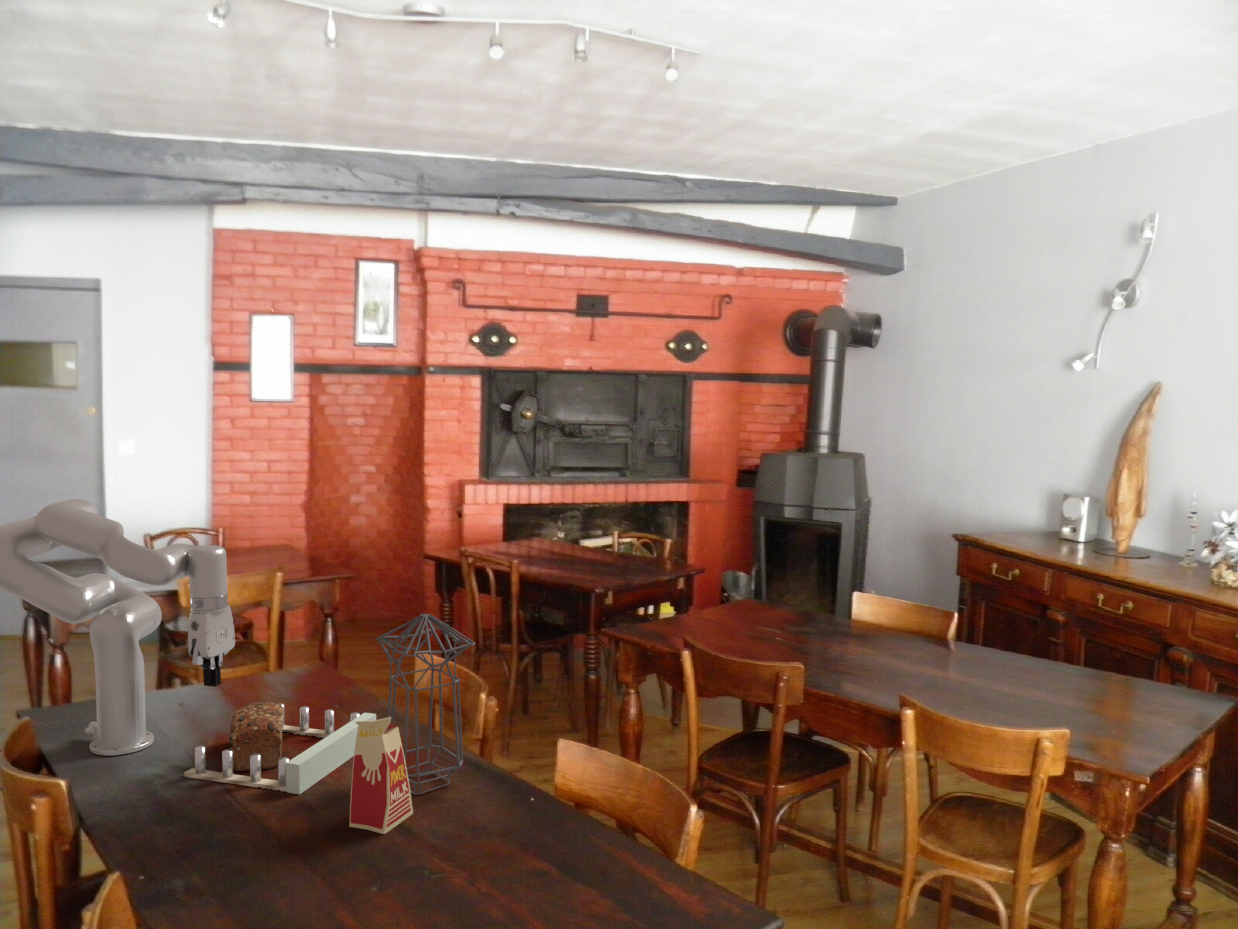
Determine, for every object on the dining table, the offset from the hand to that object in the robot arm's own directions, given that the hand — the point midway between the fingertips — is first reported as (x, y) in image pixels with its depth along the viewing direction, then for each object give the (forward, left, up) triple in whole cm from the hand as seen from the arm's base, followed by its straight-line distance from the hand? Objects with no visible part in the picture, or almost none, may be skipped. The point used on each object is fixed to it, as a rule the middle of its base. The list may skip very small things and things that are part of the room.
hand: (212, 685), depth 209 cm
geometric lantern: (+53, -3, -14) cm, 54 cm away
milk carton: (+52, -20, -14) cm, 57 cm away
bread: (+11, 0, -15) cm, 18 cm away
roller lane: (+18, 0, -14) cm, 22 cm away
